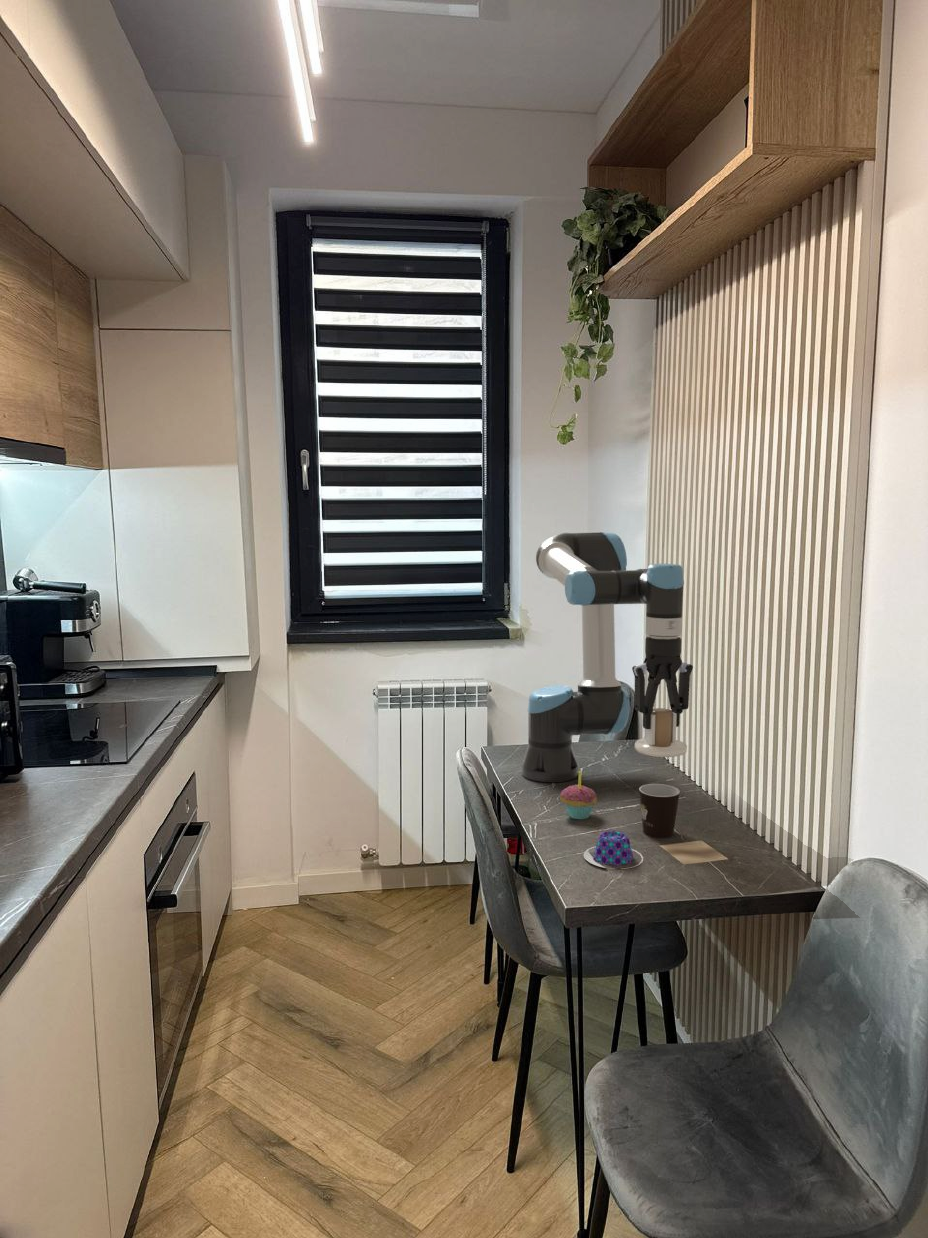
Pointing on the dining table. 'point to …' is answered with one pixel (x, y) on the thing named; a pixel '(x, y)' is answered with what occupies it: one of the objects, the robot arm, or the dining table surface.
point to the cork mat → (693, 852)
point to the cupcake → (578, 800)
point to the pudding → (611, 850)
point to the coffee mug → (658, 809)
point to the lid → (661, 738)
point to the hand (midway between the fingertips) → (660, 742)
